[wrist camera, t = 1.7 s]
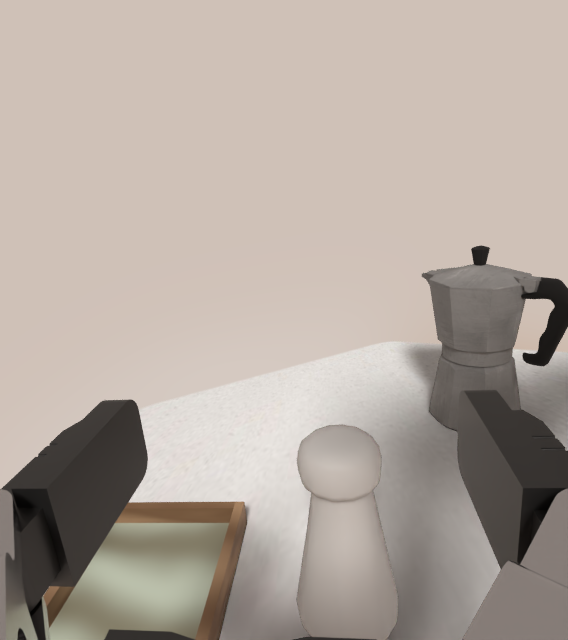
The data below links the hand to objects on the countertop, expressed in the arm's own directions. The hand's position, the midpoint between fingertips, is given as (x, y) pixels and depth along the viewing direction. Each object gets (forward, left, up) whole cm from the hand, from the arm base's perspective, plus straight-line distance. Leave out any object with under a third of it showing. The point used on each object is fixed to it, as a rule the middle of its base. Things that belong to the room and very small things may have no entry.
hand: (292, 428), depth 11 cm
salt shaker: (-9, -6, -20) cm, 23 cm away
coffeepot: (-37, -10, -20) cm, 43 cm away
